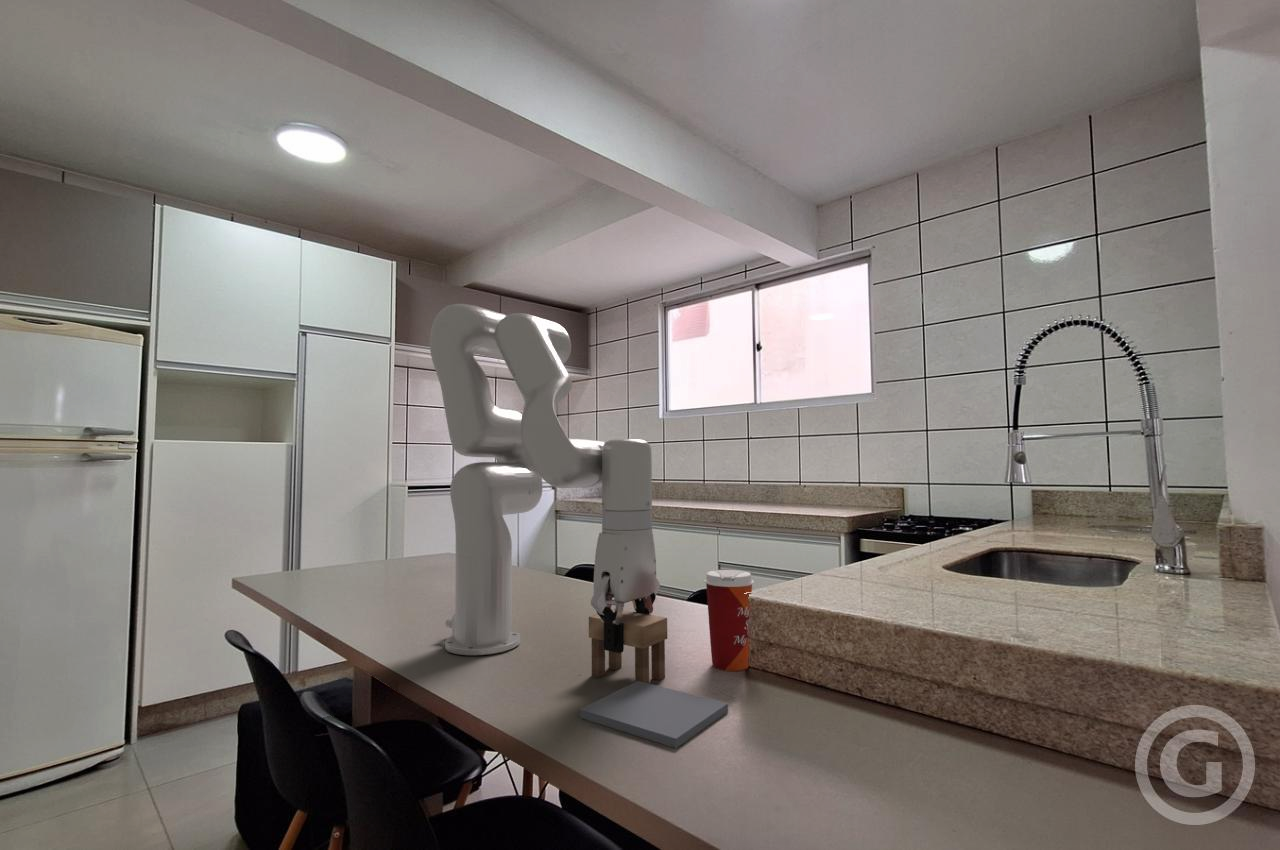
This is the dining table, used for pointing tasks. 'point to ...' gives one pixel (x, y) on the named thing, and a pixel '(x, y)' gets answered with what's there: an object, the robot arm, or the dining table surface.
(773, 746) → the dining table surface
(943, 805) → the dining table surface
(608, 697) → the mat
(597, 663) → the footstool
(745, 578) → the paper cup
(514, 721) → the dining table surface
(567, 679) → the dining table surface
